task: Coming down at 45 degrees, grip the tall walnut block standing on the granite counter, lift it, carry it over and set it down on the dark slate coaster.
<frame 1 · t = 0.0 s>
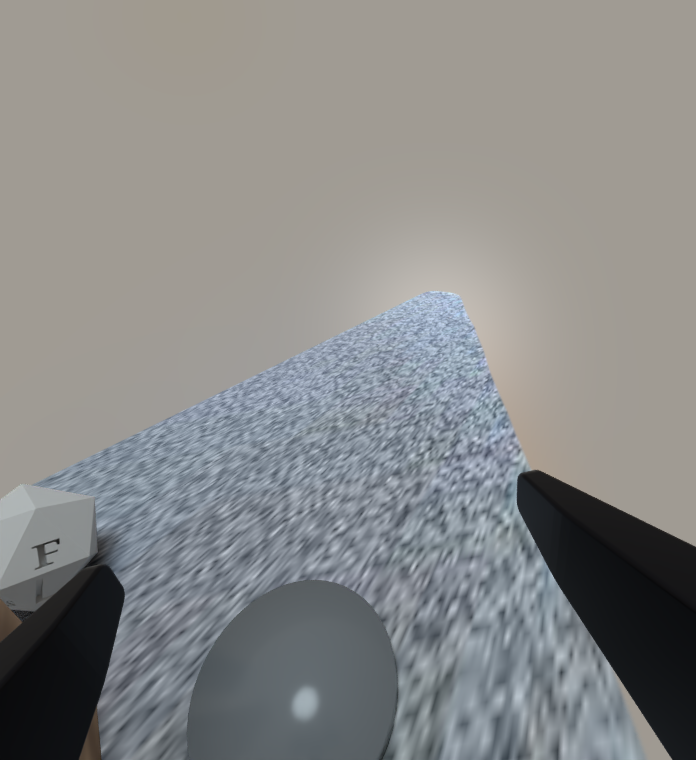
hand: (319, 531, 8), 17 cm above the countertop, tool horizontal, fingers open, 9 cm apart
slate coaster: (296, 683, 20), on the countertop
die: (59, 580, 30), on the countertop
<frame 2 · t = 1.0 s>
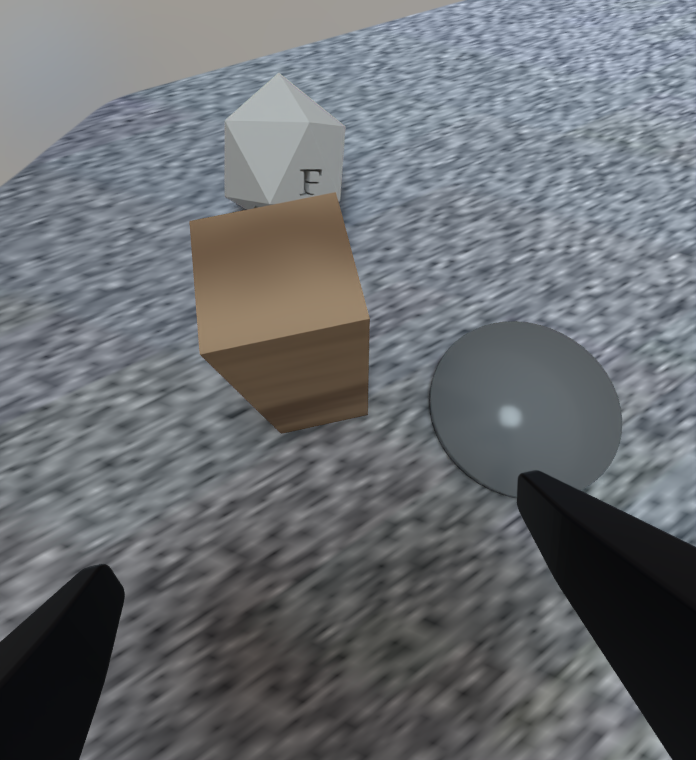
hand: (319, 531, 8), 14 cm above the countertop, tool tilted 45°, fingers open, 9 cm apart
slate coaster: (519, 406, 23), on the countertop
walnut block: (316, 383, 24), on the countertop
die: (294, 207, 29), on the countertop
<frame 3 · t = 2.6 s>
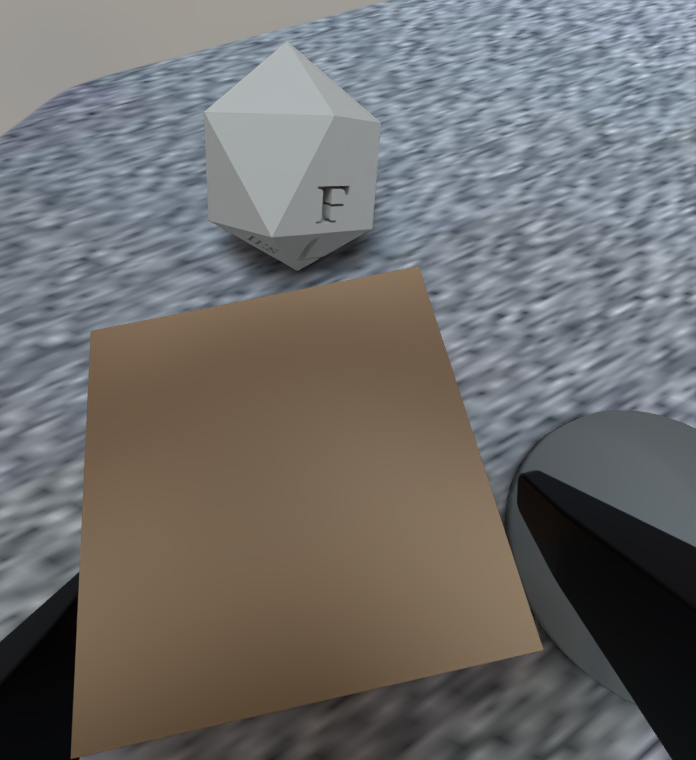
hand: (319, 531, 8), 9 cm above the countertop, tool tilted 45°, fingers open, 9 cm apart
slate coaster: (641, 544, 15), on the countertop
walnut block: (337, 498, 16), on the countertop
die: (305, 231, 22), on the countertop
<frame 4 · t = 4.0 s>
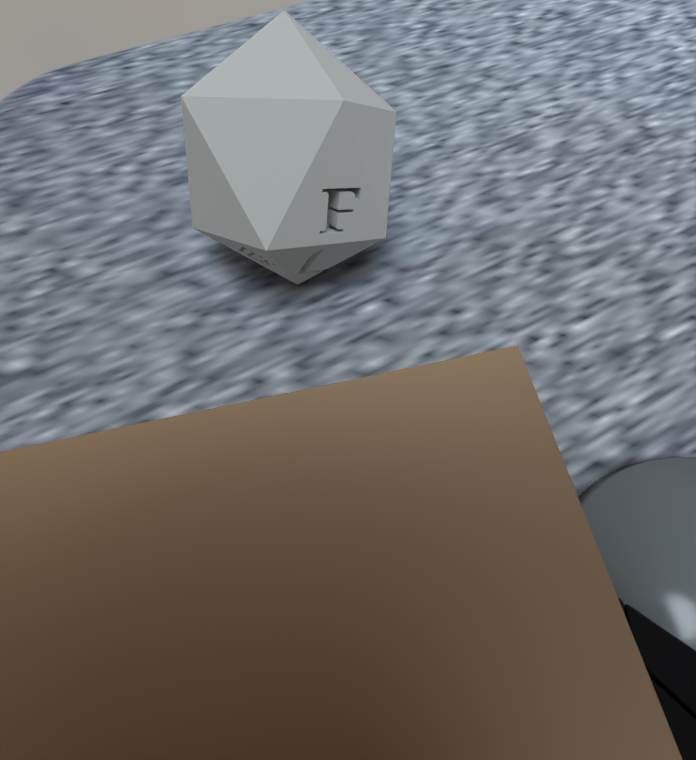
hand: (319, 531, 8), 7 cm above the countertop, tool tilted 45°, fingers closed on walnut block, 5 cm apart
walnut block: (346, 561, 14), on the countertop, touching gripper
die: (306, 238, 19), on the countertop
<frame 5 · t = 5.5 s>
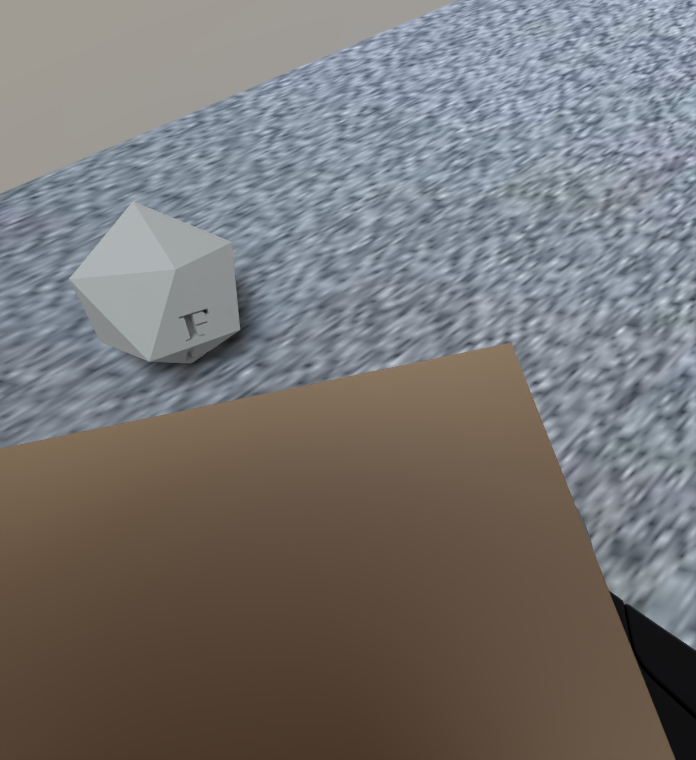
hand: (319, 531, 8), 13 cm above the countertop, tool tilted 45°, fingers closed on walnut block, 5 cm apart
walnut block: (345, 560, 14), point 7 cm above the countertop, touching gripper
die: (195, 324, 25), on the countertop
when the fingers open (8 cm above the countertop, at t = 7.5 s): walnut block drops 1 cm, resting on slate coaster.
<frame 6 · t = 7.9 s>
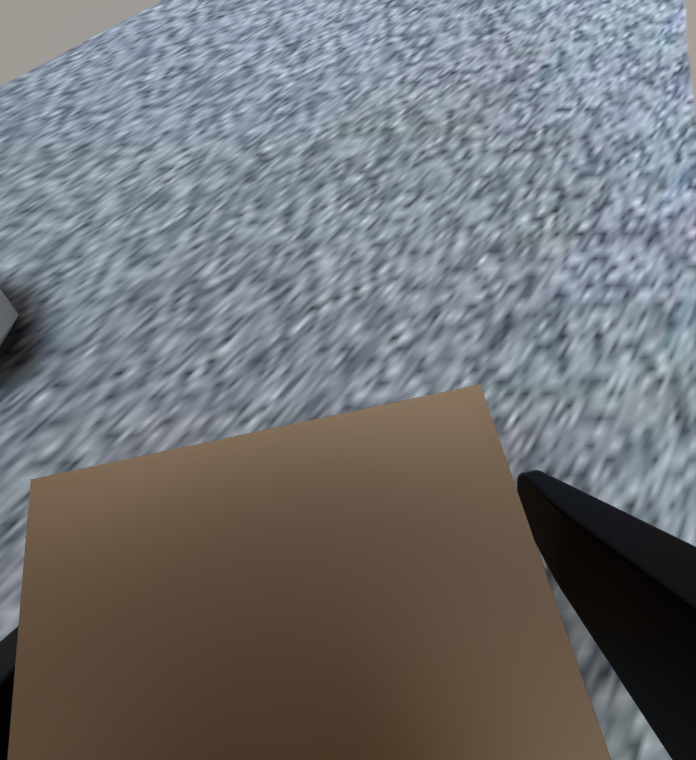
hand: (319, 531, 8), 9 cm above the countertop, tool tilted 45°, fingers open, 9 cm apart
walnut block: (347, 557, 15), point 1 cm above the countertop, touching slate coaster
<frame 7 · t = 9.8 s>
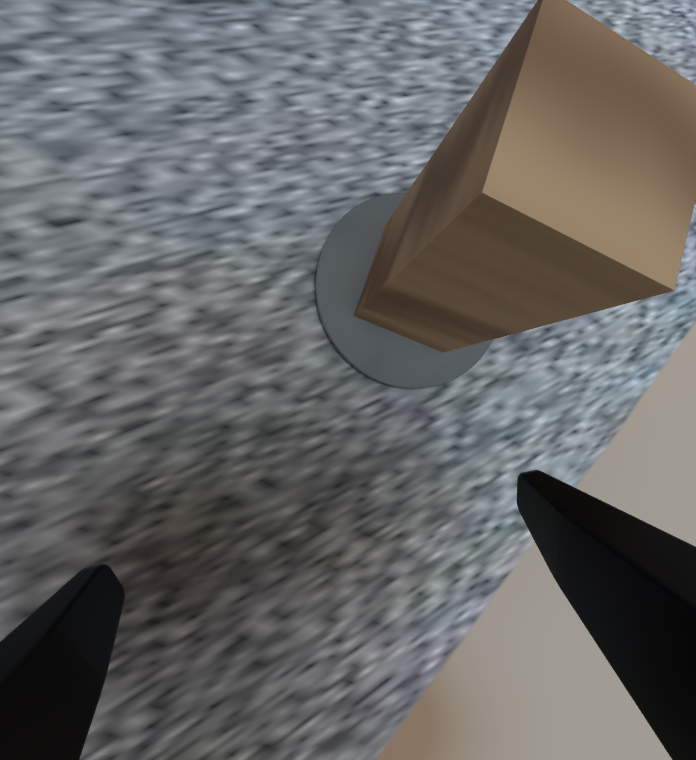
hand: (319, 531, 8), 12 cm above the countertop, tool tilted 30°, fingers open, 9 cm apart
slate coaster: (409, 293, 21), on the countertop
walnut block: (414, 289, 21), point 1 cm above the countertop, touching slate coaster
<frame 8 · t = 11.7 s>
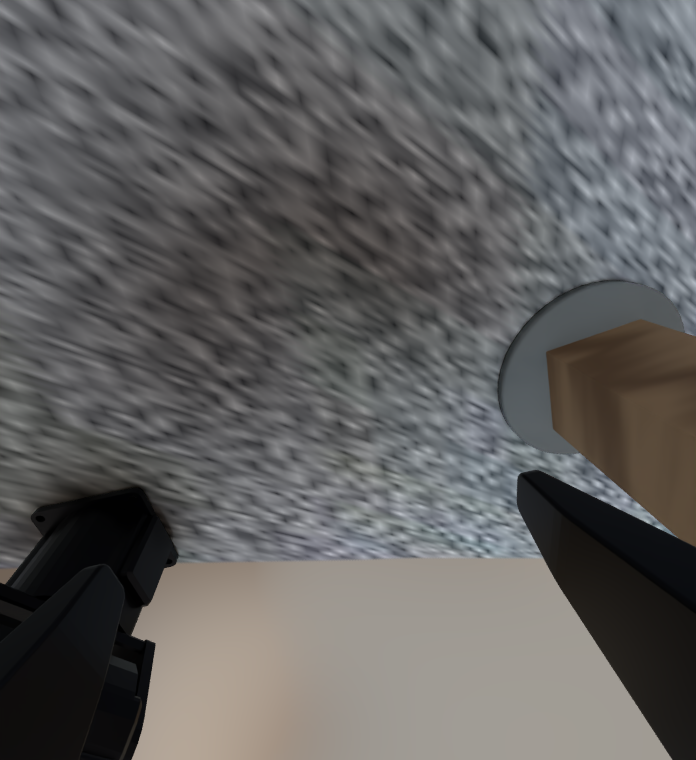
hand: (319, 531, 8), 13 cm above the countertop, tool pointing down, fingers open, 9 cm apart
slate coaster: (584, 372, 23), on the countertop
walnut block: (594, 377, 22), point 1 cm above the countertop, touching slate coaster
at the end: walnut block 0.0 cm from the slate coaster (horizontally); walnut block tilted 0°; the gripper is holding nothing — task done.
